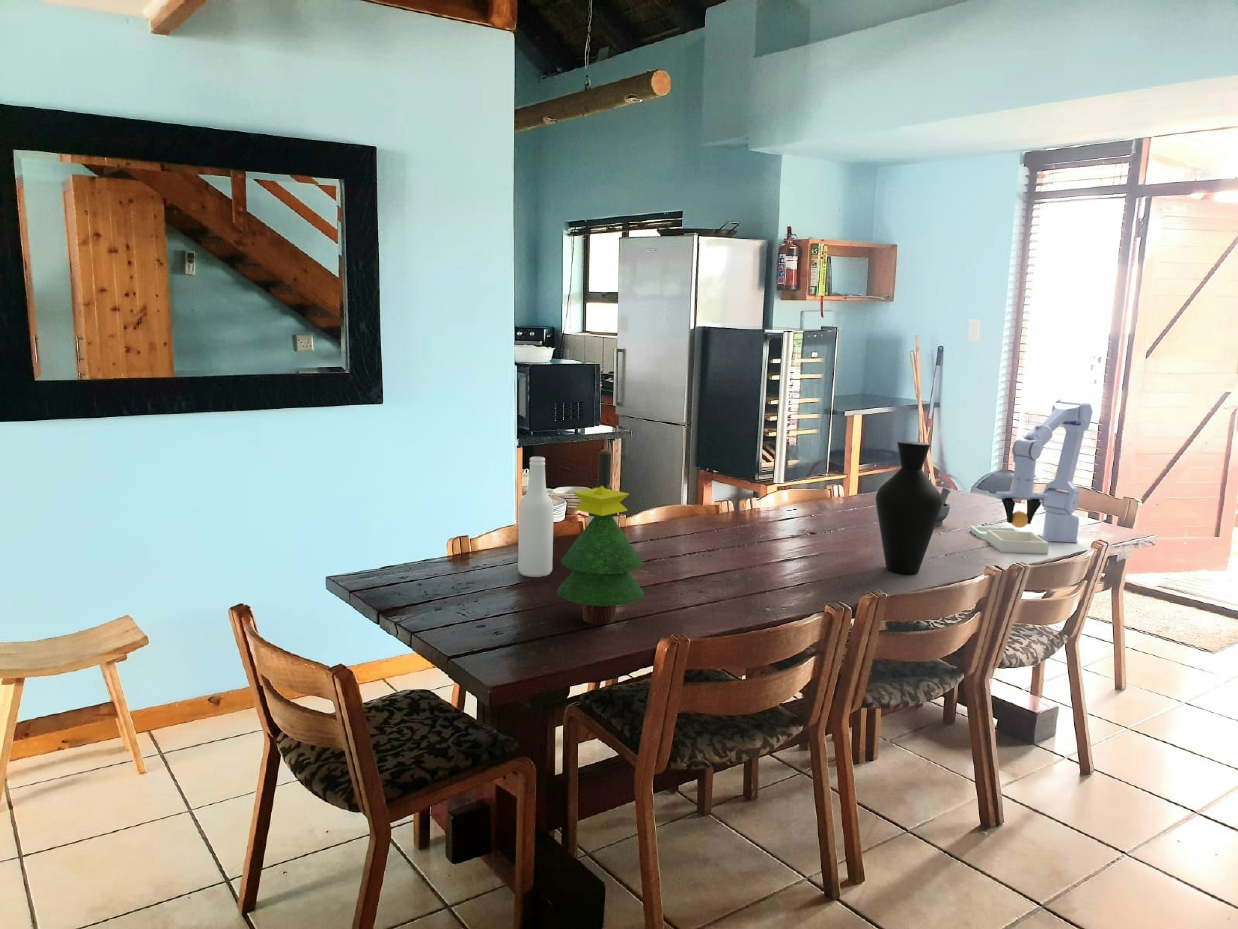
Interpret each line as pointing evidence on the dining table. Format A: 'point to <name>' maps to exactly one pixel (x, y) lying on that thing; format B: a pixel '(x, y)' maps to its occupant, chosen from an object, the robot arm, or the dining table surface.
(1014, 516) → the ball
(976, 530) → the tray
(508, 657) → the dining table surface
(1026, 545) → the cream open box
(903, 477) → the vase
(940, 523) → the mortar and pestle
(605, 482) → the wine bottle
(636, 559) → the decorative tree
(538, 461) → the alcohol
